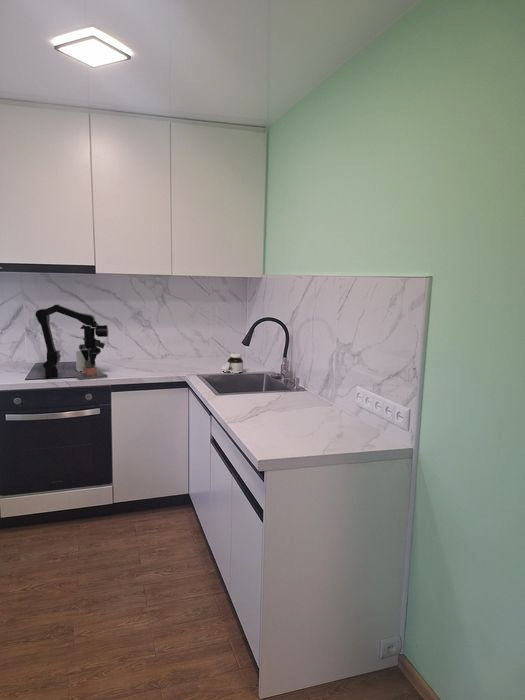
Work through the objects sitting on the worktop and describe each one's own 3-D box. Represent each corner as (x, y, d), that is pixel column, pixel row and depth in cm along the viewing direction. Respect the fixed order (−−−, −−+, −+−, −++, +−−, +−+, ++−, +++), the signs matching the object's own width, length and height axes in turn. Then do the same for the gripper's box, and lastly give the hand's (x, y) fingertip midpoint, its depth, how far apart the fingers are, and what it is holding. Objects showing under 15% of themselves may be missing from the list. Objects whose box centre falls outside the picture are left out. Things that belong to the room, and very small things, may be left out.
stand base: (80, 380, 271) (80, 370, 270) (73, 376, 280) (72, 366, 279) (107, 377, 282) (107, 367, 281) (100, 374, 290) (99, 364, 290)
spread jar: (244, 372, 309) (245, 355, 308) (232, 375, 301) (233, 357, 299) (231, 370, 317) (231, 352, 315) (219, 372, 308) (219, 354, 306)
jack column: (87, 374, 278) (86, 362, 277) (84, 373, 281) (84, 361, 280) (95, 373, 281) (95, 361, 280) (93, 372, 284) (93, 360, 283)
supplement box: (87, 372, 295) (86, 351, 293) (76, 371, 296) (75, 351, 294) (93, 370, 302) (93, 350, 300) (82, 369, 303) (82, 349, 301)
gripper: (109, 337, 276) (109, 364, 278) (97, 334, 290) (97, 359, 292) (90, 338, 269) (90, 366, 271) (78, 335, 283) (78, 361, 285)
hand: (89, 363), depth 280 cm, fingers open, 9 cm apart
